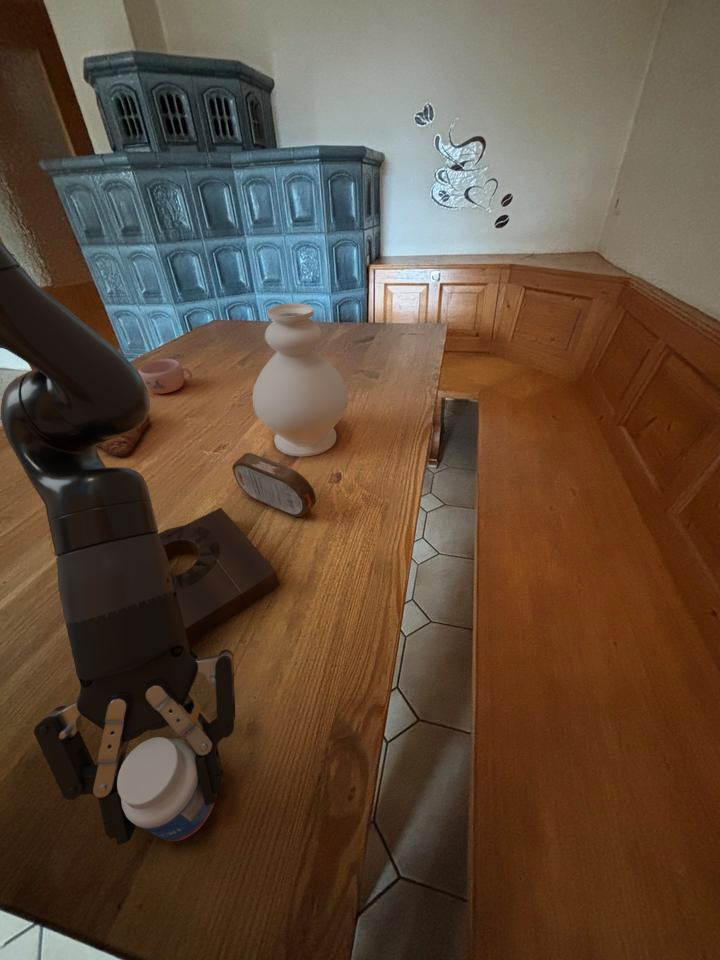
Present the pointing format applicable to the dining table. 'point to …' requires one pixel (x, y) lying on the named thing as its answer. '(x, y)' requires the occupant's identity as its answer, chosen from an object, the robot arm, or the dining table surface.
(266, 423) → the decorative vase
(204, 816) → the pill bottle
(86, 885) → the dining table surface
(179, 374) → the mug
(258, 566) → the base pad
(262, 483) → the tin
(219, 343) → the dining table surface
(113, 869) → the dining table surface
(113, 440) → the pastry
